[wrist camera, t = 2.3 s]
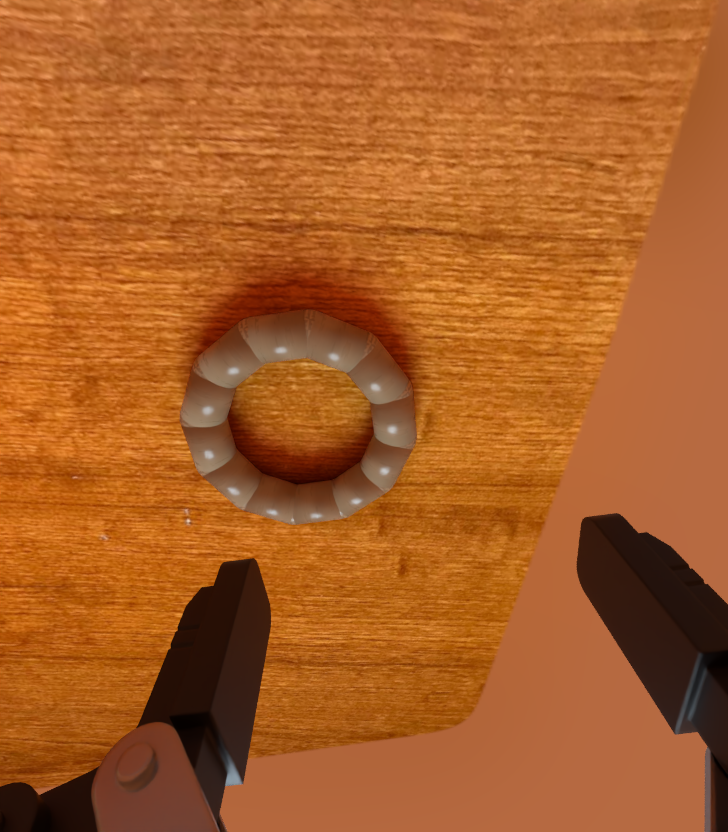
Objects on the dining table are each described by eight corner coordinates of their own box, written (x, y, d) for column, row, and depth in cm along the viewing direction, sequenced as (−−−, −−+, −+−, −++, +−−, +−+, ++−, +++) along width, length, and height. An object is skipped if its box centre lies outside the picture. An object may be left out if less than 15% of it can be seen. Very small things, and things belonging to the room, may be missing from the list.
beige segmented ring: (160, 325, 17) (140, 337, 15) (401, 291, 17) (407, 300, 15) (224, 517, 21) (214, 543, 20) (419, 492, 21) (425, 516, 19)
